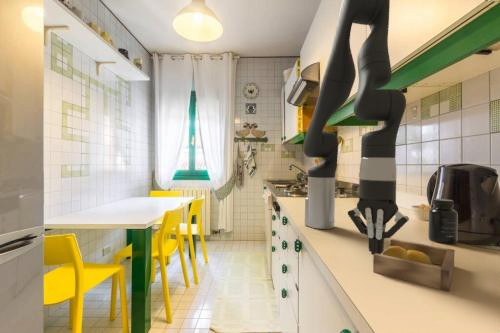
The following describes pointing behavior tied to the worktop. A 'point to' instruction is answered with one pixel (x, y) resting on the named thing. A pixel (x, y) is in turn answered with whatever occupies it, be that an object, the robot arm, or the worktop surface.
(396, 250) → the bread roll
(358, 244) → the worktop surface
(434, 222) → the supplement bottle
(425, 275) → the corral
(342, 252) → the worktop surface
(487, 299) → the worktop surface
